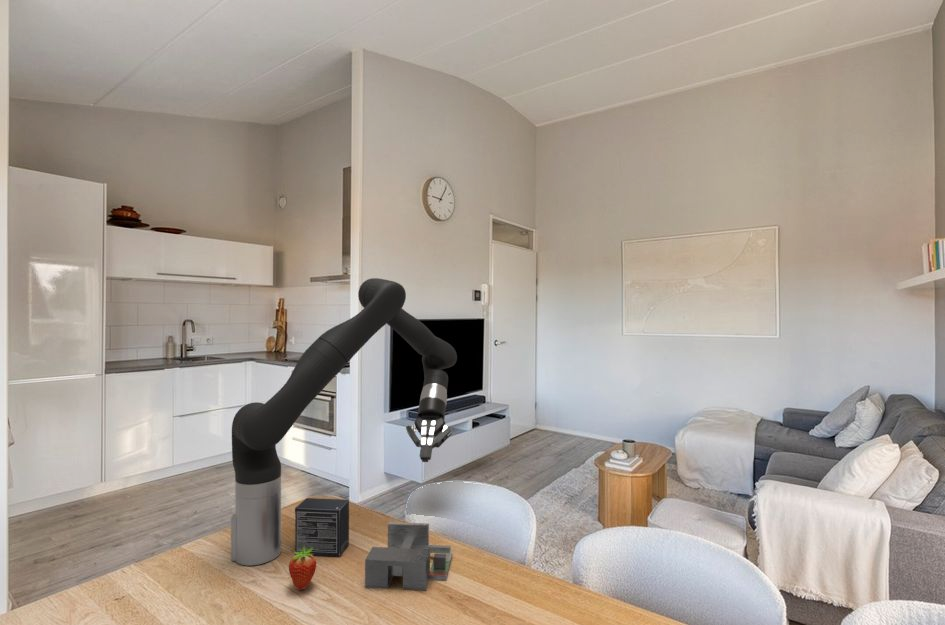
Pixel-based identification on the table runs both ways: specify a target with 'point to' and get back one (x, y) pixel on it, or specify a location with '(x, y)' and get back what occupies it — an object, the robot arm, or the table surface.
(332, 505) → the small box
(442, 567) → the block
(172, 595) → the table surface
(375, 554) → the gauge base
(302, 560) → the fruit
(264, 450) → the robot arm
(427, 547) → the push plate
